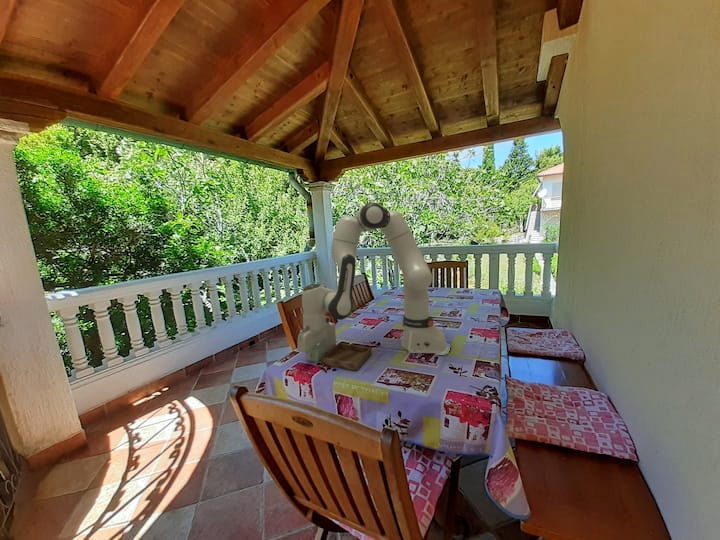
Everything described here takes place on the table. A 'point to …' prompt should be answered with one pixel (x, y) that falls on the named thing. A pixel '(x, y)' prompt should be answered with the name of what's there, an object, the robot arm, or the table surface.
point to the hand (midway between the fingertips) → (315, 353)
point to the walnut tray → (346, 356)
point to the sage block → (317, 353)
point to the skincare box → (330, 338)
